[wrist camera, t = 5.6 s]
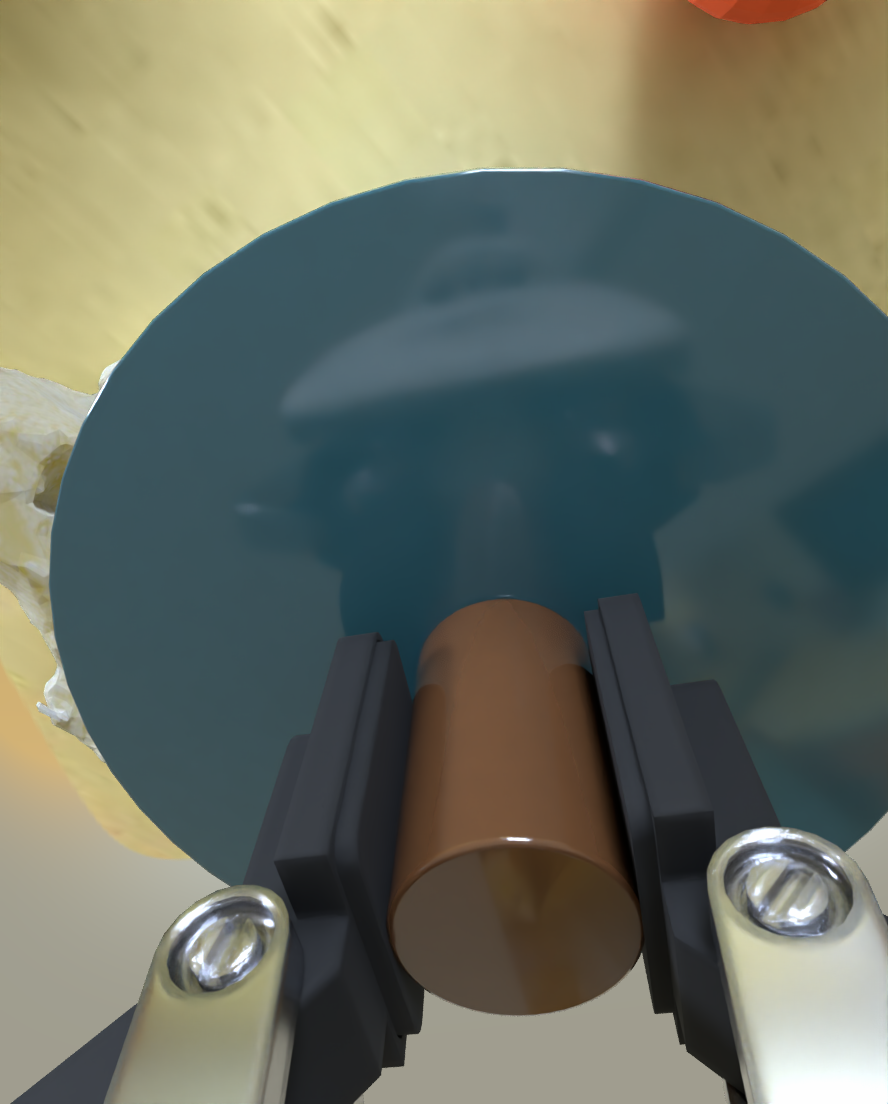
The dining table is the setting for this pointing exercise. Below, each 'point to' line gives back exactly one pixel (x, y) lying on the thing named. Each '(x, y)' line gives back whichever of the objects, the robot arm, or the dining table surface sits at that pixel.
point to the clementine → (756, 9)
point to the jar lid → (487, 539)
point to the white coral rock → (38, 508)
